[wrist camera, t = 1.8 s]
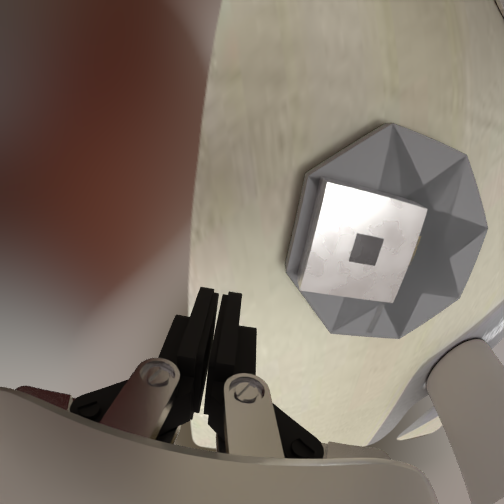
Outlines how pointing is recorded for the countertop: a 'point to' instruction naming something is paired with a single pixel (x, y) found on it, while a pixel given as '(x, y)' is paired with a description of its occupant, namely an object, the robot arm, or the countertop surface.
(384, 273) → the cover
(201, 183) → the countertop surface
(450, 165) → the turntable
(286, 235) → the countertop surface
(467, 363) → the cylinder vase
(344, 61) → the countertop surface
